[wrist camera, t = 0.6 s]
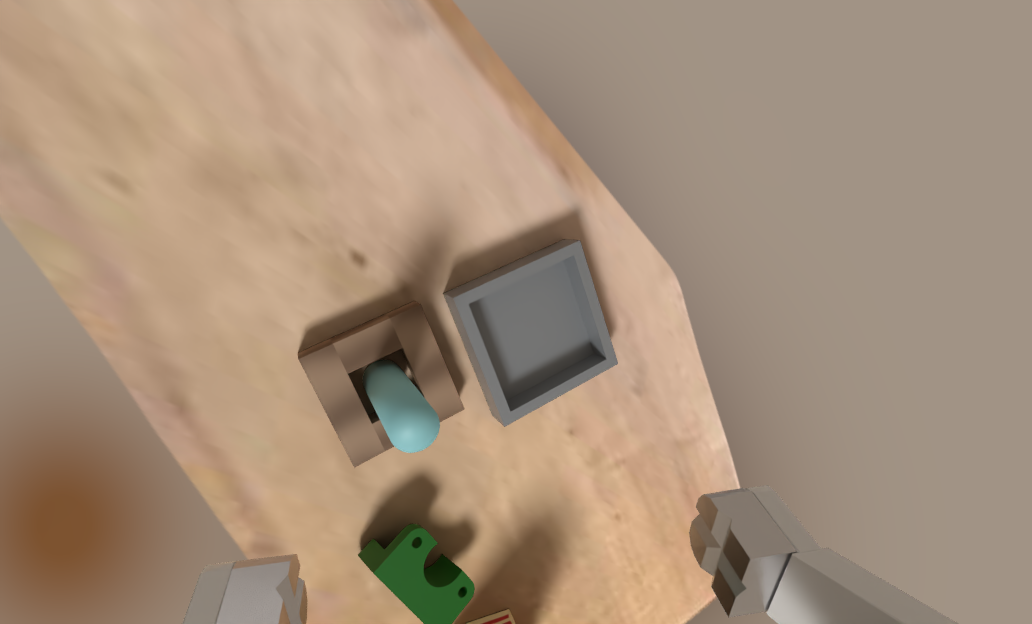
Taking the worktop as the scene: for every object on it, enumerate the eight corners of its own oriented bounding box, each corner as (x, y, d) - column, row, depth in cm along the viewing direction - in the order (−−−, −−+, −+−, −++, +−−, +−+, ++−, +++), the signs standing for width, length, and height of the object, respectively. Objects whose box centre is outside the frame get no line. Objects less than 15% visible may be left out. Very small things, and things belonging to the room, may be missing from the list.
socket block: (297, 352, 50) (298, 359, 48) (414, 300, 54) (420, 304, 51) (351, 457, 54) (354, 467, 51) (457, 401, 57) (464, 409, 55)
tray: (443, 293, 55) (453, 297, 52) (564, 239, 59) (579, 240, 56) (492, 415, 59) (504, 426, 56) (601, 356, 64) (618, 363, 61)
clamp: (431, 546, 64) (483, 594, 58) (394, 589, 61) (445, 644, 55) (391, 497, 56) (447, 548, 50) (346, 544, 53) (401, 603, 48)
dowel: (355, 370, 52) (379, 418, 40) (393, 352, 54) (428, 393, 41) (372, 404, 54) (400, 461, 41) (408, 386, 55) (447, 436, 42)
